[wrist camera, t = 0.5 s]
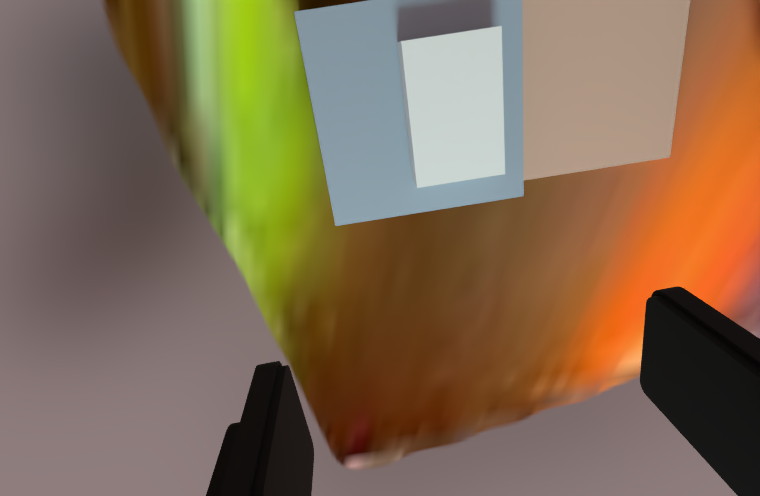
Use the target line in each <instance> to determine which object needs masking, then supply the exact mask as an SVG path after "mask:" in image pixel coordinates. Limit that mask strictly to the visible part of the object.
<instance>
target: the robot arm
mask: <svg viewBox="0 0 760 496" xmlns="http://www.w3.org/2000/svg"><path fill="white" fill-rule="evenodd" d="M640 384H641V387H642V389H643V391H644V393H645V394H646V395H647V396H648V397H649V399H650V400H651V401H652V402H653V403H654V404H655V405H656V406H657V408H658V409H659V410H660V411H661V412H662V413H663V414H664V415H665V416H666V417H667V418H668V419H669V421H670V422H671V423H672V424H673V425H674V426H675V427H676V428H677V429H678V431H679V432H680V433H681V434H682V435H683V436H684V437H685V438H686V439H687V440H688V441H689V443H690V444H691V445H692V446H693V447H694V448H695V449H696V450H697V451H698V452H699V454H700V455H701V456H702V457H703V458H704V459H705V460H706V461H707V462H708V463H709V465H710V466H711V467H712V468H713V469H714V470H715V471H716V472H717V473H718V475H719V476H721V478H722V479H723V480H724V481H725V482H726V483H727V484H728V485H729V487H730V488H731V489H732V490H733V491H734V492H735V493H736V494H737V495H738V496H760V339H759V338H758V337H756V336H755V335H753V334H752V333H750V332H749V331H747V330H746V329H744V328H742V327H741V326H739V325H738V324H736V323H735V322H733V321H732V320H730V319H729V318H727V317H726V316H724V315H723V314H721V313H720V312H718V311H717V310H715V309H714V308H712V307H711V306H709V305H708V304H706V303H705V302H703V301H702V300H700V299H699V298H697V297H696V296H694V295H693V294H691V293H690V292H688V291H687V290H685V289H684V288H682V287H672V288H667V289H661V290H656V291H654V292H653V294H652V297H650V298H648V300H647V302H646V312H645V325H644V337H643V349H642V361H641V373H640ZM313 463H314V448H313V442H312V439H311V436H310V432H309V429H308V426H307V422H306V419H305V416H304V413H303V410H302V406H301V403H300V400H299V396H298V393H297V390H296V387H295V383H294V380H293V377H292V374H291V370H290V368H289V366H288V365H286V366H282V364H281V363H280V362H279V361H277V362H271V363H266V364H261V365H257V366H256V368H255V372H254V375H253V379H252V382H251V386H250V389H249V393H248V396H247V400H246V403H245V407H244V411H243V414H242V417H241V421H240V422H239V423H233V424H231V425H230V426H229V427H228V429H227V431H226V434H225V437H224V440H223V443H222V446H221V450H220V453H219V456H218V459H217V462H216V465H215V469H214V472H213V475H212V478H211V481H210V485H209V488H208V491H207V494H206V496H311V491H312V477H313Z"/></svg>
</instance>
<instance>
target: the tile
mask: <svg viewBox="0 0 760 496" xmlns="http://www.w3.org/2000/svg"><path fill="white" fill-rule="evenodd" d="M397 44H398V53H399V62H400V71H401V79H402V88H403V97H404V106H405V115H406V124H407V133H408V142H409V151H410V160H411V169H412V178H413V182H414V183H415V185H416V187H417V188H421V187H427V186H433V185H440V184H446V183H452V182H459V181H465V180H471V179H478V178H484V177H490V176H497V175H503V174H505V145H504V102H503V60H502V26H497V27H491V28H484V29H478V30H471V31H465V32H458V33H452V34H445V35H438V36H432V37H425V38H419V39H412V40H406V41H400V42H397Z"/></svg>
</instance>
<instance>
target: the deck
mask: <svg viewBox="0 0 760 496" xmlns="http://www.w3.org/2000/svg"><path fill="white" fill-rule="evenodd" d="M294 14H295V19H296V24H297V29H298V35H299V40H300V45H301V50H302V55H303V60H304V66H305V71H306V76H307V81H308V86H309V91H310V97H311V102H312V107H313V112H314V117H315V122H316V127H317V133H318V138H319V143H320V148H321V153H322V158H323V164H324V169H325V174H326V179H327V184H328V189H329V194H330V200H331V205H332V210H333V215H334V220H335V225H336V226H338V225H345V224H351V223H357V222H364V221H370V220H376V219H382V218H389V217H395V216H401V215H408V214H414V213H420V212H427V211H433V210H439V209H445V208H452V207H458V206H464V205H471V204H477V203H483V202H490V201H496V200H502V199H508V198H515V197H521V196H524V183H523V26H522V0H368V1H362V2H355V3H348V4H342V5H335V6H329V7H322V8H315V9H309V10H302V11H296V12H294ZM497 26H502V60H503V102H504V145H505V174H503V175H497V176H490V177H484V178H478V179H471V180H465V181H459V182H452V183H446V184H440V185H433V186H427V187H421V188H417V187H416V185H415V183H414V182H413V178H412V169H411V160H410V151H409V142H408V133H407V124H406V115H405V106H404V97H403V88H402V79H401V71H400V62H399V53H398V44H397V42H400V41H406V40H412V39H419V38H425V37H432V36H438V35H445V34H452V33H458V32H465V31H471V30H478V29H484V28H491V27H497Z"/></svg>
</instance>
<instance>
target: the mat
mask: <svg viewBox="0 0 760 496" xmlns="http://www.w3.org/2000/svg"><path fill="white" fill-rule="evenodd" d="M689 7H690V0H522V26H523V180H529V179H536V178H542V177H548V176H555V175H561V174H567V173H574V172H580V171H586V170H593V169H599V168H605V167H611V166H618V165H624V164H630V163H637V162H643V161H649V160H656V159H662V158H668V157H670V153H671V145H672V137H673V130H674V122H675V114H676V107H677V99H678V91H679V84H680V76H681V68H682V61H683V53H684V45H685V38H686V30H687V22H688V15H689Z"/></svg>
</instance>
